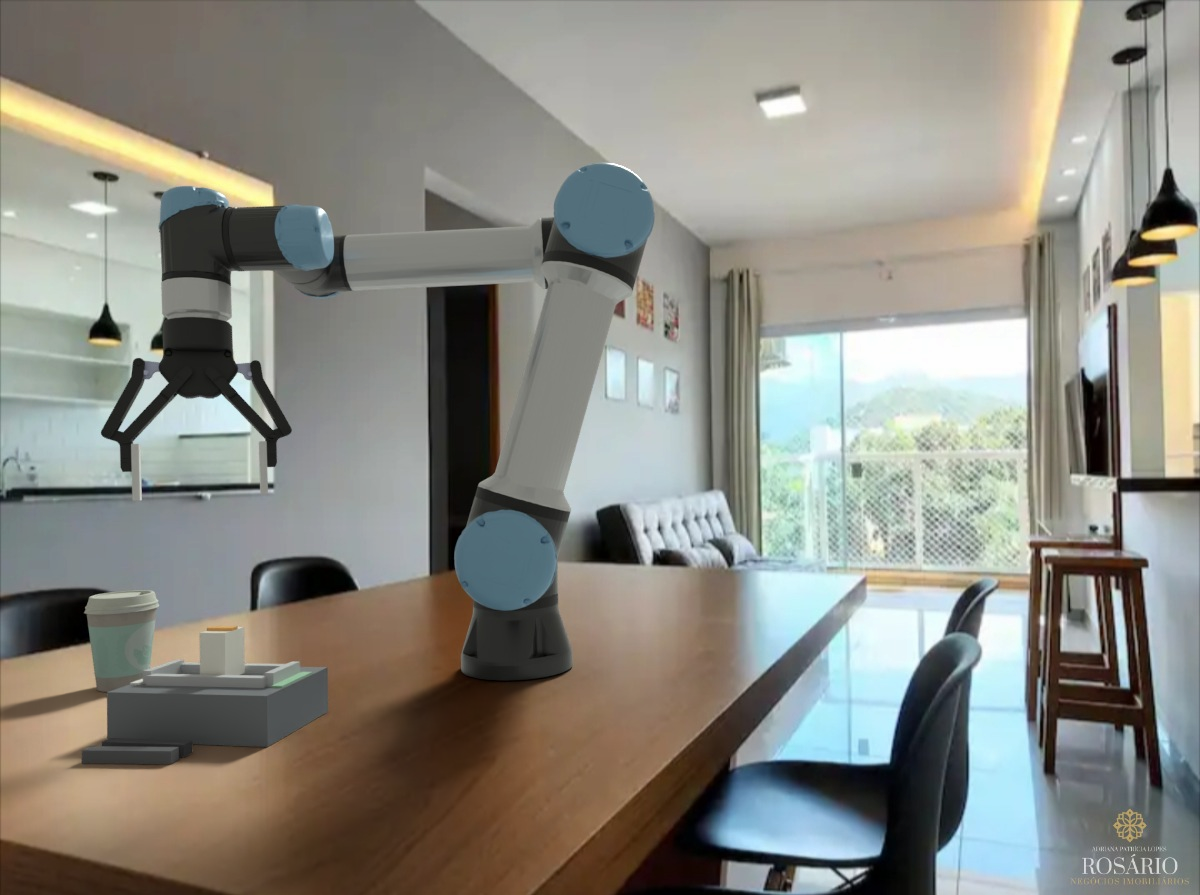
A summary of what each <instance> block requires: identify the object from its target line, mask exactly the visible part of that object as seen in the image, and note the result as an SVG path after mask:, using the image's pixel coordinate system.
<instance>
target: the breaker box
mask: <svg viewBox="0 0 1200 895" xmlns="http://www.w3.org/2000/svg"><path fill="white" fill-rule="evenodd" d="M328 673H329V672H328V667H327V666H320V667H319V666H301V661H290V662H287V663H256V662H255V663H251V662H250V663H245V673H243V674H240V675H204V674H200V662H194V661H193V662H189V661H188V662H187V661H186V662H185V660H184V659H174V660H172V661H168V662H165V663H162V664H159V665H157V666H152V667H150V669H147V670H144V671H143V679H140V680H137V681H134V682H131V683H130V684H129V685H126V686H124V687H121V688H118V689H115V690H112V691H109V692H106V733H107V734H106V738H107V739H109V738H131V739H161V740H191V741H192V745H201V746H204V745H205V746H228V747H230V746H233V747H258V748H259V747H260V748H261V747H262V748H269V747H270V746H272V745H273V744H275V743H277V742H278V741H281V740H282V739H284V738H285V737H287V736H289V735H291V734H292V733H294V732H296V731H297V730H299V729H301V728H303V727H305V726H306V725H308V724H309V723H311V722H313V721H315V720H316V719H319V717H322V716H323V715H325V714H327V713H328V712H329V676H328ZM107 739H106V740H107Z"/></svg>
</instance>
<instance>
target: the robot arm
mask: <svg viewBox="0 0 1200 895" xmlns="http://www.w3.org/2000/svg"><path fill="white" fill-rule="evenodd" d="M160 198H161V199H160V208H159V209H160V211H159V214H160V215H159V223H158V232H159V239H160V242H159V243H160V257H161V258H160V260H161V262H160V264H161V283H160V285H161V287H160V289H161V314H162V315H163V316H164V318H165V320H164V322H162V323H161V324H162V357H161V358H162V359H161V360H160V362H156V361H151V360H144V359H143V358H141V357H136V358H134V359H133V361H132V365H131V366H132V367H131V377H129V380H128V381H127V384H126V386H125V388H124V389H123V391H122V392H121V395H119V398H118V399H117V402H116V404H115V406H114V407H113V409H112V411H111V413H110V414H109V416H108V418H107V420H106V422H105V423H104V425H103V427H102V429H101V431H100V434H101V436H102V437H103V438H104V439H106V440H110V441H114V442H116V443H118V445H119V459H120V463H119V464H120V469H121V471H122V473H130V472H131V493H132V494H131V496H132V497H131V499H132V502H135V501H136V502H140V501H143V499H142V498H143V496H142V494H143V492H142V455H141V454H142V452H141V444H139V443H134V441H135V440H136V439H137V438H138V437H139V436H140V435H141V434H142V433H143V432H144V430H146V428H147V427H148V426H149V425H150V424H151V423H152V422H153V421H154V420H155V419H156V418H157V417H158V415H160V414H161V412H162V411H163V410H164V409H165V408H166V407H167V406H168V405H169V404H170V403H171V402H172V401H173V400H174V399H175V398H176V397H177V396H178V395H179V396H180V397H182V398H185V399H191V400H192V399H196V398H202V399H215V398H218V397H220V396H221V395H222V396H223V397H224V398H225V399H226V400H227V401H228V403H230V404H231V405H232V406H233V407H234V409H236V410H237V412H239V414H240V415H241V416H242V417H243V418H244V419H245V420H246V421H247V422H248V423H249V424H250V425H251V426H252V427H253V428H254V429H255V431H257V432H258V433H259V434H260V435H261V436H262V437H263V438H264V440H261V441H258V461H259V462H258V463H259V468H258V469H259V493H260V496H266V495H267V496H268V495H269V485H268V484H269V482H268V481H269V478H268V477H269V476H268V468H276V466H277V464H278V455H277V454H278V450H277V442H278V440H280V439H281V438H285V437H288V436H289V435H290V434H292V431H293V430H292V427H291V425H290V424H289V421H288V420H287V418H286V417H285V416H286V415H284V412H283V411H282V409H281V408H280V405H279V404H278V402H277V400H276V399H275V397H274V395H273V393H272V391H271V389H270V387H269V386H268V384H267V383H266V381H265V379H264V376H263V370H262V363H261V362H260V361H259V360H255V359H254V360H252V361H250V362H243V363H236V361H235V358H234V352H233V351H234V350H233V349H234V346H233V325H232V324H231V323H230V322H229V320H230V319H232V317H233V314H232V310H233V309H232V281H231V280H232V279H231V278H232V272H254V271H255V272H259V271H260V272H262V271H263V272H264V271H265V272H266V271H267V272H268V271H270V272H272V273H274V274H276V275H277V276H279V277H280V278H282V279H283V280H285V281H286V282H287V283H288V284H290V285H291V286H293V288H295V289H296V290H297V291H299V292H300V293H301V294H303V295H305V296H308V297H311V298H313V299H318V300H319V299H320V300H327V299H331V298H334V297H336V296H338V295H339V294H340V293H342V292H351V291H353V292H356V291H372V290H373V291H376V290H397V289H399V290H400V289H417V288H438V287H439V288H440V287H457V286H458V287H459V286H461V287H462V286H479V285H499V284H518V283H519V284H521V283H535V284H537V285H538V286H539V287H541V289H543V290H546V293H545V297H544V299H543V303H542V306H541V311H540V313H539V317H538V321H537V325H536V328H535V330H534V334H533V338H532V341H531V345H530V349H529V351H528V355H527V359H526V363H525V365H524V370H523V373H522V377H521V381H520V384H519V387H518V389H517V390H518V391H517V395H516V398H515V401H514V404H513V408H512V412H511V416H510V419H509V421H508V422H509V423H508V426H507V430H506V431H505V432H506V433H505V437H504V440H503V443H502V447H501V450H500V453H499V457H498V461H497V465H496V467H495V472H494V473H493V474H492V475H491V476H489V477H487V478H486V479H483V480H482V481H480V482H479V483H478V485H477V488H476V490H475V495H474V498H473V501H472V506H471V508H470V512H469V516H468V519H467V523H466V526H465V528H464V529H463V530H462V531H461V534H460V535H459V536H458V539H457V541H456V544H455V547H454V555H453V556H454V557H453V560H454V568H455V574H456V577H457V579H458V582H459V584H460V585H461V588H462V589H463V590H464V592H466V594H467V595H468V596H469V597H470V598H471V599H472V616H471V620H470V623H469V626H468V630H467V633H466V637H465V641H464V643H463V645H462V646H463V647H462V650H461V654H460V663H461V664H460V666H461V667H460V668H461V669H460V671H461V672H462V674H464V675H465V676H468V677H471V678H473V679H474V678H475V679H479V680H488V681H523V680H534V679H541V678H547V677H550V676H556V675H560V674H561V673H564V672H567V671H569V670H570V669H572V667H573V664H574V663H573V662H574V661H573V648H572V645H571V641H570V639H569V636H568V633H567V630H566V626H565V624H564V621H563V619H562V615H561V613H560V609H559V608H560V607H559V580H558V578H559V577H558V576H559V574H558V573H559V572H558V559H559V555H560V552H561V548H562V544H563V542H564V541H563V540H564V537H565V533H566V530H567V526H568V523H569V519H570V514H571V512H572V507H571V506H570V504H569V502H568V500H567V498H566V497H565V493H564V490H565V487H566V484H567V481H568V476H569V472H570V469H571V465H572V462H573V458H574V455H575V452H576V448H577V444H578V441H579V438H580V433H581V430H582V426H583V423H584V420H585V415H586V412H587V409H588V406H589V401H590V398H591V395H592V391H593V388H594V384H595V380H596V376H597V374H598V370H599V367H600V363H601V360H602V359H601V358H602V355H603V352H604V348H605V344H606V341H607V339H608V335H609V332H610V327H611V324H612V320H613V316H614V313H615V310H616V306H617V305H618V304H619V303H621V302H622V301H624V300H626V299H627V298H629V297H631V296H632V294H633V291H634V287H635V285H636V281H637V277H638V272H639V270H640V266H641V264H642V259H643V257H644V256H643V255H644V252H645V250H646V249H645V248H646V245H647V241H648V238H649V237H650V236H651V233H652V232H653V228H654V225H655V215H656V214H655V206H654V201H653V198H652V194H651V191H650V190H649V188H648V186H647V185H646V184H645V183H644V181H643V180H642V178H640V177H639V175H637V174H636V173H634V172H633V170H632V171H631V169H629V168H627V167H625V166H623V165H619V164H617V163H612V162H595V163H590V164H586V165H584V166H582V167H580V168H578V169H576V170H574V171H573V172H572V173H571V174H570V175H568V176H567V177H566V179H565V180H564V181H563V183H562V184H561V186H560V188H559V190H558V192H557V193H556V196H555V198H554V203H553V216H551V217H538V218H537V219H536V220H535V222H534V223H532V224H531V225H529V226H528V225H527V226H526V225H525V226H505V227H486V228H485V227H483V228H463V229H460V228H459V229H445V230H443V229H441V230H439V229H438V230H423V231H422V230H421V231H402V232H401V231H400V232H399V231H398V232H381V233H361V234H359V233H358V234H345V235H334V231H333V227H332V223H331V221H330V219H329V216H328V214H327V212H326V211H325V210H324V209H323V208H322V207H319V206H316V205H300V204H296V203H293V204H286V205H271V206H270V205H269V206H267V205H266V206H265V205H264V206H243V207H239V206H238V207H237V206H236V207H235V206H234V207H232V206H230V205H229V200H228V198H227V197H226V195H224V193H221V192H219V191H217V190H215V189H212V188H208V187H204V186H203V187H202V186H201V187H196V186H193V185H183V186H182V185H181V186H175V187H172V188H169V189H167V190H166V191H164V193H163V194H162V196H161V197H160ZM155 373H160V375H161V376H162V377H163V378H164V380H165V381H166V382H167V384H166V385H165V387H163V388H162V390H160V392H159V394H157V396H156V397H155V398H154V399H153V400H152V401H151V402H150V403H149V404H148V405H147V407H145V409H143V411H142V412H140V414H139V415H138V416H137V417H136V418H135V419H134V420H133V421H132V422H130V424H129V426H127V428H126V429H125V430H124V431H121V430H120V427H121V426H122V424H123V422H124V420H125V419H126V417H127V416H128V413H129V412H130V410H131V408H132V406H133V405H134V402H135V401H136V400H137V396H139V393H140V391H141V390H142V388H143V386H144V384H145V380H150V379H151V378H153V375H154V374H155ZM238 373H239V374H241V375H243V377H244V379H245V380H246V381H251V382H252V385H253V388H254V390H255V391H256V393H257V395H258V396H259V398H260V400H261V402H262V404H263V405H264V408H266V411H267V412H268V414H269V416H270V418H271V420H272V421H273V423H274V424H275V426H276V428H275V429H273V428H272V427H271V426H269V424H268V423H266V421H265V420H264V419H263V418H262V417H261V416H260V415H259V414H258V413H257V411H256V410H254V409H253V408H252V406H251V405H250V404H248V402H246V400H245V399H244V398H243V397H242V396H241V395H240V394H239V393H238V392H237V390H236V389H235V388H234V387H233V386H232V385H231V382H232V381H233V380H234V379H235V377H236V376H237V375H238Z"/></svg>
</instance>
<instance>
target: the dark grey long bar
mask: <svg viewBox="0 0 1200 895" xmlns="http://www.w3.org/2000/svg"><path fill="white" fill-rule="evenodd" d="M101 746H124V747H179V758H185V757H188V756H189V755H191V754H193V752H194V751H193V744H192V741H191V740H161V739H131V738H109V739H105V740H103V741H101Z"/></svg>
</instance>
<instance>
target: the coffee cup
mask: <svg viewBox="0 0 1200 895" xmlns="http://www.w3.org/2000/svg"><path fill="white" fill-rule="evenodd" d="M158 607H160V604H159V599H157V595H156V593H155V590H154V591H153V590H144V589H143V590H142V589H141V590H122V591H112V592H111V591H110V592H104V593H98V594H94V595H91V596H89V597H88V601H87V604H86V606H85V607H84V609H85V610H84V612H83V614H85V615H86V618H87V627H88V628H87V629H88V633H89V642H90V648H91V650H90V651H91V656H92V663H93V671H94V677H95V678H94V679H95V685H96V690H97V691H99V692H102V693H107V692H109V691H112V690H115V689H118V688H121V687H124V686H126V685H129V684H130V683H131V682H134V681H137V680H140V679H143V671H144V670H147V669H150V668H151V663H152V653H153V644H154V636H155V626H156V620H157V619H156V618H157V610H158Z"/></svg>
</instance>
